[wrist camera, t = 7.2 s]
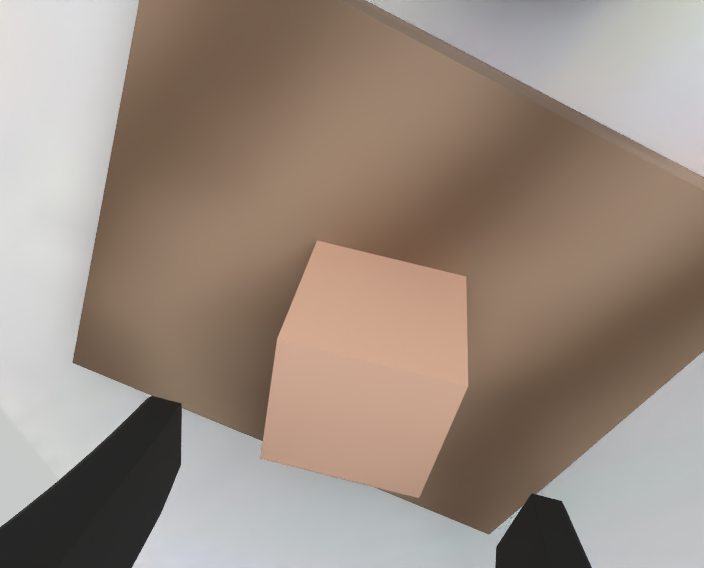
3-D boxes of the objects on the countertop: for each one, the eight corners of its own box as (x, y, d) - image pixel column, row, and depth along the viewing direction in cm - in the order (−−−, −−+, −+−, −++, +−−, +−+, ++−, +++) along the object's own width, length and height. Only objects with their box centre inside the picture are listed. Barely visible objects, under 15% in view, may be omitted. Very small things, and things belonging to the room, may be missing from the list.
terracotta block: (466, 276, 15) (468, 385, 11) (426, 382, 17) (419, 498, 14) (317, 240, 15) (277, 338, 12) (297, 350, 17) (260, 458, 14)
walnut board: (795, 225, 14) (820, 251, 13) (487, 505, 22) (489, 534, 21) (181, -96, 12) (157, -94, 11) (91, 339, 20) (72, 362, 19)
